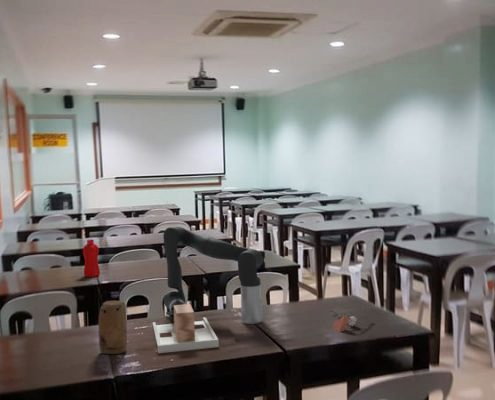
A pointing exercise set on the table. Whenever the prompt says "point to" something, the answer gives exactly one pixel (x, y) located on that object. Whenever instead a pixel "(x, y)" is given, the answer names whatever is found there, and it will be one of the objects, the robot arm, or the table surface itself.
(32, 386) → the table surface
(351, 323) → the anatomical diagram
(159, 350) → the box
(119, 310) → the block
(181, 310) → the terracotta block
